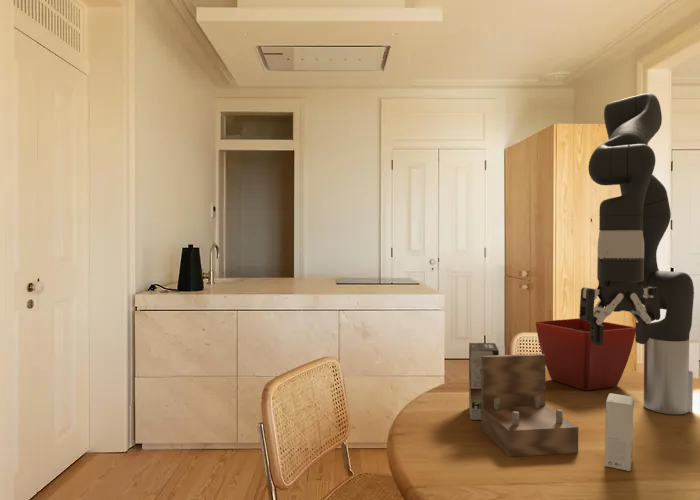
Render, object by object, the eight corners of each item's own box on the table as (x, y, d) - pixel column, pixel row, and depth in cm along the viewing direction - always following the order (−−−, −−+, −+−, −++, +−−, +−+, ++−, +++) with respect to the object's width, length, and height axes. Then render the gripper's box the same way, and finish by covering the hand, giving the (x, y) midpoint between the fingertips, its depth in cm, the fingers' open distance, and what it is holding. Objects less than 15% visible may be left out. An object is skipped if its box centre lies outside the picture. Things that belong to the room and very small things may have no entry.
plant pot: (580, 371, 157) (581, 317, 157) (637, 387, 140) (638, 327, 139) (533, 378, 149) (533, 321, 149) (587, 396, 132) (587, 332, 132)
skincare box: (631, 472, 90) (632, 405, 89) (604, 466, 92) (605, 401, 92) (633, 459, 95) (633, 395, 94) (607, 454, 97) (608, 392, 97)
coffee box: (499, 422, 114) (499, 350, 114) (469, 420, 116) (469, 349, 115) (495, 408, 123) (496, 342, 123) (468, 406, 124) (468, 341, 124)
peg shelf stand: (542, 426, 112) (542, 353, 111) (578, 452, 98) (578, 370, 97) (481, 429, 110) (481, 355, 110) (508, 456, 96) (509, 372, 96)
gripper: (642, 254, 97) (641, 339, 97) (572, 255, 95) (571, 341, 96) (671, 256, 90) (670, 347, 90) (595, 256, 88) (595, 349, 88)
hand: (619, 344), depth 93 cm, fingers open, 8 cm apart
